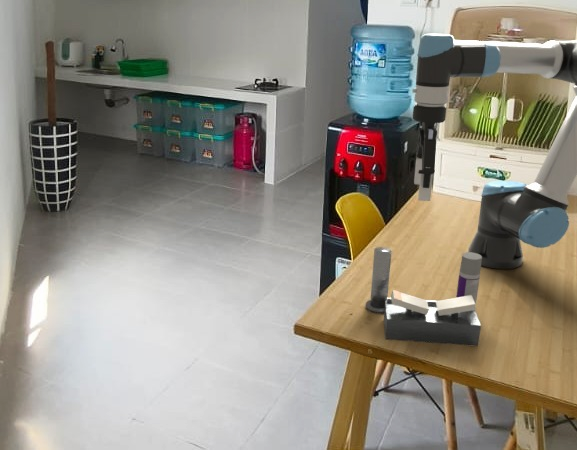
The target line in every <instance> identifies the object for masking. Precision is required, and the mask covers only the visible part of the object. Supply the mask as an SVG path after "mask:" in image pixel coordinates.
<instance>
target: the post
mask: <svg viewBox="0 0 577 450" xmlns="http://www.w3.org/2000/svg"><path fill="white" fill-rule="evenodd" d="M392 252H393V251H392V249H391V248H388V247H385V246H383V247H382V246H381V247H379V246H378V247H376V248H374V252H373V263H372V275H371V276H372V277H371V289H370V300H369V299H368V301H366V302H365V309H366V310H367V311H368V312H370V313H373V314H381V315H382V314H383V315H384V308H385V301H387V298H389V296H388V294H389V284H390V272H391V265H392V264H391V262H392Z"/></svg>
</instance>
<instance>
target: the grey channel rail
mask: <svg viewBox="0 0 577 450" xmlns="http://www.w3.org/2000/svg"><path fill="white" fill-rule="evenodd" d="M436 301H437V300H431V299H430V300H429V299H428V300H427V303H428V307H429V311H428V313H427V315H425V314H422V313H419V312H416V311H413V310H409V309H406V308H403V307H400V306H396V305H393V304H392V300H391V297H387V301H385V308H384V313H383V329H384V338H385V340H389V341H392V340H393V341H402V342H414V343H415V342H417V343H430V344H431V343H432V344H446V345H459V346H460V345H462V346H472V347H473V346H474V347H478V346H479V342H480V337H481V336H480V334H481V330H482V329H481V328H482V324H481V321H480V319H479V317H478V314H477V312H476V310H471V311H465V312H459V313H453V314H447V315H441V316H439V314H438V310H437V307H436Z"/></svg>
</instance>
